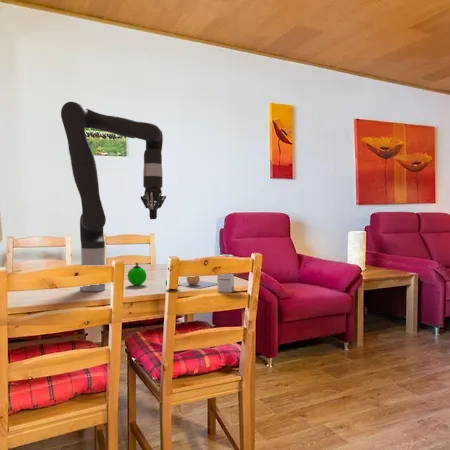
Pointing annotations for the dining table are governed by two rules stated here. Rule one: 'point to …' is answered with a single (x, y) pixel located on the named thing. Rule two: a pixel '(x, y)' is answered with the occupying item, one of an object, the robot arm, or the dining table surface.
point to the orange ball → (193, 280)
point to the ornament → (137, 275)
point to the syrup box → (225, 281)
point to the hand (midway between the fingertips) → (153, 219)
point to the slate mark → (200, 284)
